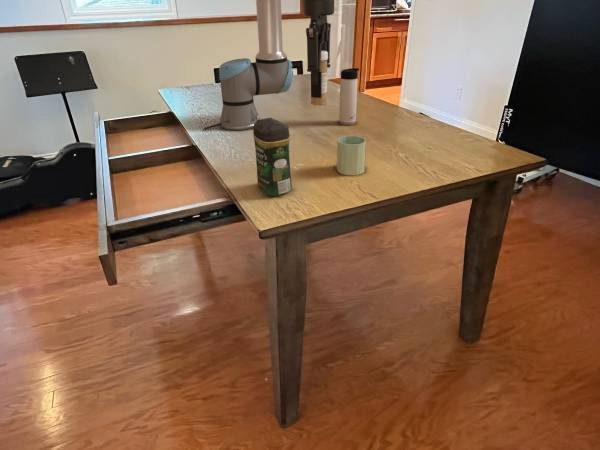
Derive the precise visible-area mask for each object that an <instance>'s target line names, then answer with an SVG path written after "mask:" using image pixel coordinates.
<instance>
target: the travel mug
mask: <svg viewBox="0 0 600 450" xmlns="http://www.w3.org/2000/svg"><path fill="white" fill-rule="evenodd" d="M359 71H360V67H353V68H352V67H351V68H345V69H342V70H341V71H340V80H339V81H340V82H339V83H340V84H339V115H338V116H339V121H338V123H339V124H340V125H341V126H353V125H355V124H356V123H357V103H358V102H357V101H358V100H357V99H358V84H359V83H358V81H359V80H358V79H359V77H358V76H359Z"/></svg>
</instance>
